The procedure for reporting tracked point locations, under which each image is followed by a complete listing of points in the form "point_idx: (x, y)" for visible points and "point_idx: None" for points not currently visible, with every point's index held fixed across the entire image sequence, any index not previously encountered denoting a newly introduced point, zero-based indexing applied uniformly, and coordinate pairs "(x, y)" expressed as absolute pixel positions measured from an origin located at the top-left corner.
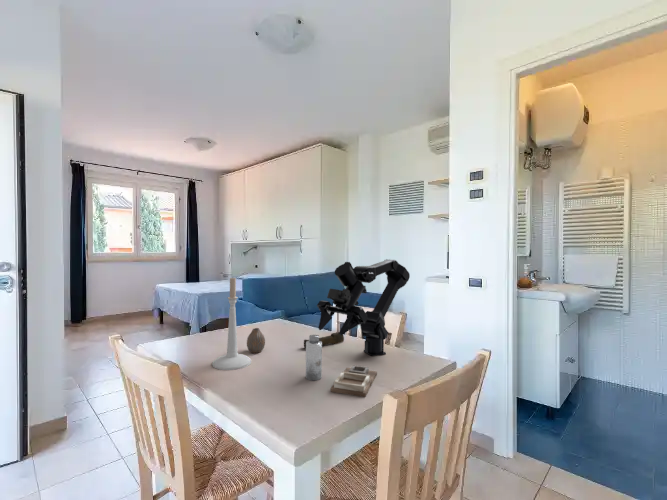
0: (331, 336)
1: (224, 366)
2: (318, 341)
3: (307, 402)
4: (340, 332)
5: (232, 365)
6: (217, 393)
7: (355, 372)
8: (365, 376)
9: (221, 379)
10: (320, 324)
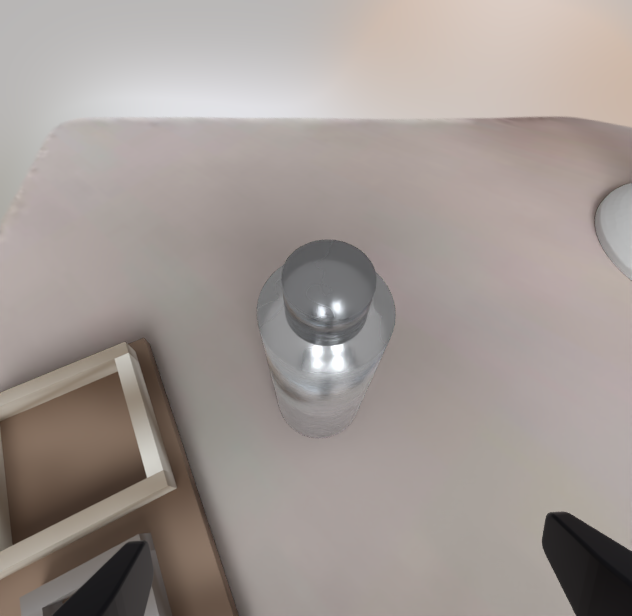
0: None
1: (619, 190)
2: (286, 316)
3: (169, 238)
4: (118, 552)
5: (613, 207)
6: (417, 123)
7: (95, 558)
8: (3, 551)
9: (515, 162)
10: (609, 559)
